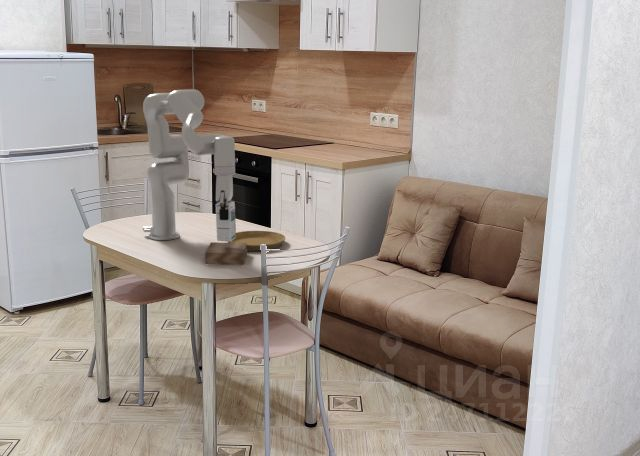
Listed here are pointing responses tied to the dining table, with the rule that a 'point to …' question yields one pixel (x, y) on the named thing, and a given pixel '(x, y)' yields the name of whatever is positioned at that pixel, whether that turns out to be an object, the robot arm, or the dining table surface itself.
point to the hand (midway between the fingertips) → (225, 217)
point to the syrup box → (226, 223)
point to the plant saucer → (259, 239)
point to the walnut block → (226, 253)
